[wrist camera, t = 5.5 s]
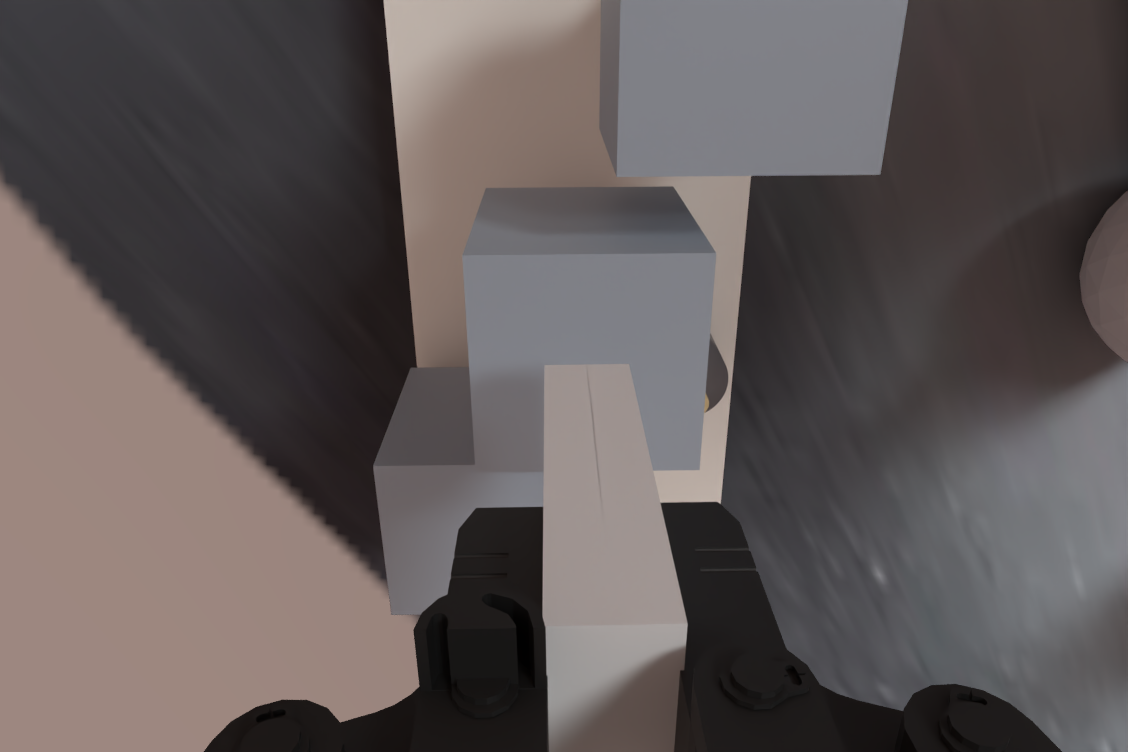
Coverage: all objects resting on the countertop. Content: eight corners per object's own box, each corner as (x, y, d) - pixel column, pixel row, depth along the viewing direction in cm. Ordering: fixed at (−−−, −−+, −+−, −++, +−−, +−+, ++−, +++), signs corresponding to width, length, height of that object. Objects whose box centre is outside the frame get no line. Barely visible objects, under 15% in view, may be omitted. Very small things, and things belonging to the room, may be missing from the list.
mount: (768, -196, 23) (851, -271, 16) (708, 510, 33) (745, 632, 27) (379, -195, 23) (312, -269, 16) (439, 513, 33) (412, 637, 27)
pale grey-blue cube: (816, -96, 19) (930, -136, 13) (791, 127, 21) (880, 174, 15) (601, -95, 19) (623, -134, 13) (599, 128, 21) (616, 176, 15)
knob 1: (561, 366, 27) (564, 464, 21) (562, 493, 29) (565, 612, 23) (410, 367, 27) (373, 466, 21) (422, 494, 29) (391, 614, 23)
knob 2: (673, 186, 21) (716, 253, 16) (664, 357, 24) (699, 469, 18) (485, 188, 21) (462, 255, 16) (493, 359, 24) (475, 472, 18)
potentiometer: (717, 316, 27) (742, 364, 24) (711, 384, 28) (735, 441, 25) (640, 316, 27) (654, 365, 24) (638, 385, 28) (650, 442, 25)
